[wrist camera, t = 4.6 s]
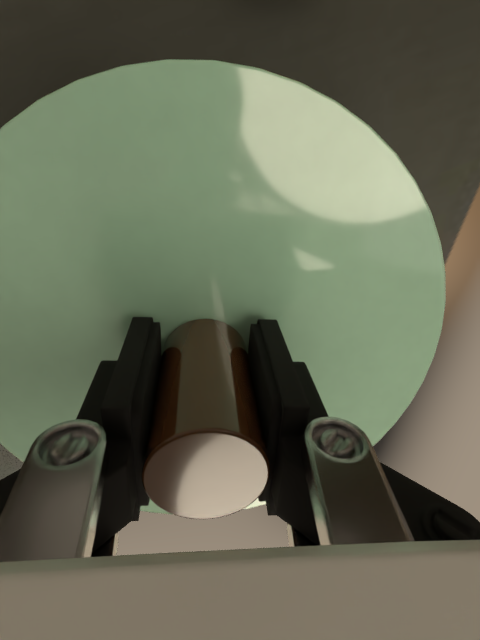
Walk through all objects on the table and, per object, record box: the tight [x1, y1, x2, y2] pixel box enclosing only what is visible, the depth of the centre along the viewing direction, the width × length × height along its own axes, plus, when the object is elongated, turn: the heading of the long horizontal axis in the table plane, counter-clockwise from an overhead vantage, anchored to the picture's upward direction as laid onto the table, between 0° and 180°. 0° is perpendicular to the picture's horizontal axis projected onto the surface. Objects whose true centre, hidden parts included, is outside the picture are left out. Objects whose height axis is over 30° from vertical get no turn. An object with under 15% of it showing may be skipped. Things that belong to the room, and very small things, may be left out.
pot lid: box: [0, 59, 445, 519], centre depth 10 cm, size 15×15×6 cm
